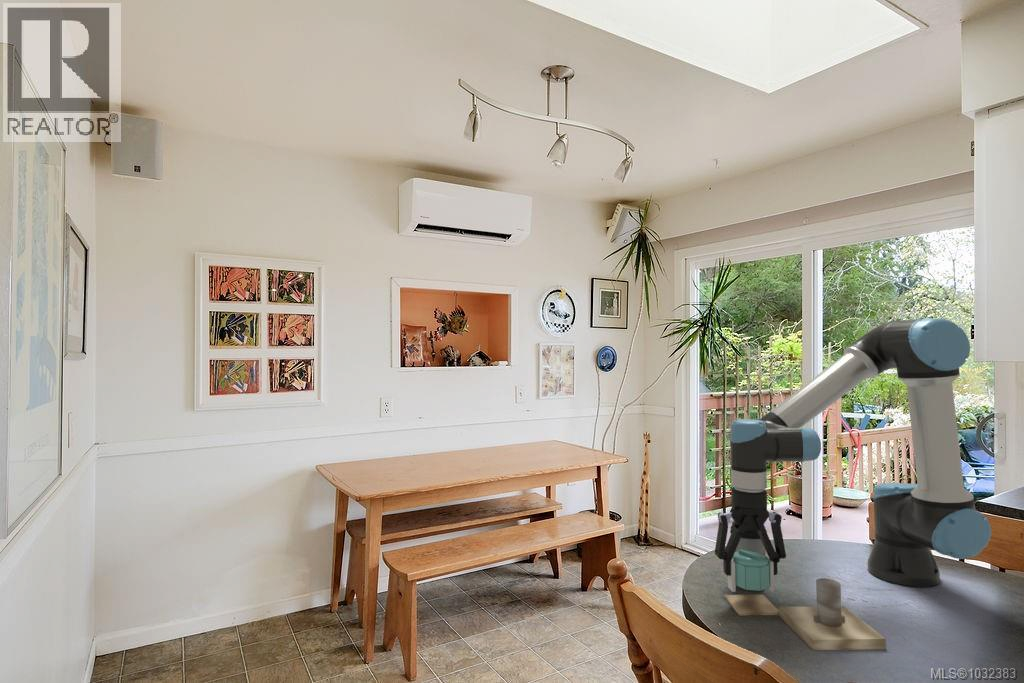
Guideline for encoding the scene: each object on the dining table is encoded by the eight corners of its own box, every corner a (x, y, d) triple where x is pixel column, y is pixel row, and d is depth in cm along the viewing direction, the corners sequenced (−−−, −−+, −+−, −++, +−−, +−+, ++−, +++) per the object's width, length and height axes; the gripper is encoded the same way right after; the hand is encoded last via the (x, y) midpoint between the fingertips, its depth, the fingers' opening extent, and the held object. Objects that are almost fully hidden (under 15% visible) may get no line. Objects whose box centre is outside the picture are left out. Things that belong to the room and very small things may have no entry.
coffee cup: (771, 593, 134) (770, 530, 135) (734, 591, 136) (733, 528, 136) (763, 579, 143) (762, 520, 143) (728, 577, 144) (727, 518, 144)
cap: (775, 585, 127) (775, 555, 127) (754, 592, 123) (753, 561, 123) (747, 574, 133) (746, 545, 134) (726, 581, 130) (725, 551, 130)
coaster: (762, 597, 133) (762, 594, 133) (780, 614, 124) (780, 612, 124) (724, 597, 133) (724, 595, 133) (739, 615, 124) (739, 612, 124)
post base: (844, 615, 123) (842, 569, 123) (885, 649, 109) (884, 597, 109) (779, 616, 123) (778, 569, 124) (813, 650, 109) (811, 598, 110)
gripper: (786, 483, 132) (788, 581, 132) (697, 484, 133) (699, 582, 132) (802, 491, 125) (804, 595, 125) (708, 492, 125) (710, 596, 125)
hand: (750, 588), depth 128 cm, fingers closed on cap, 8 cm apart
